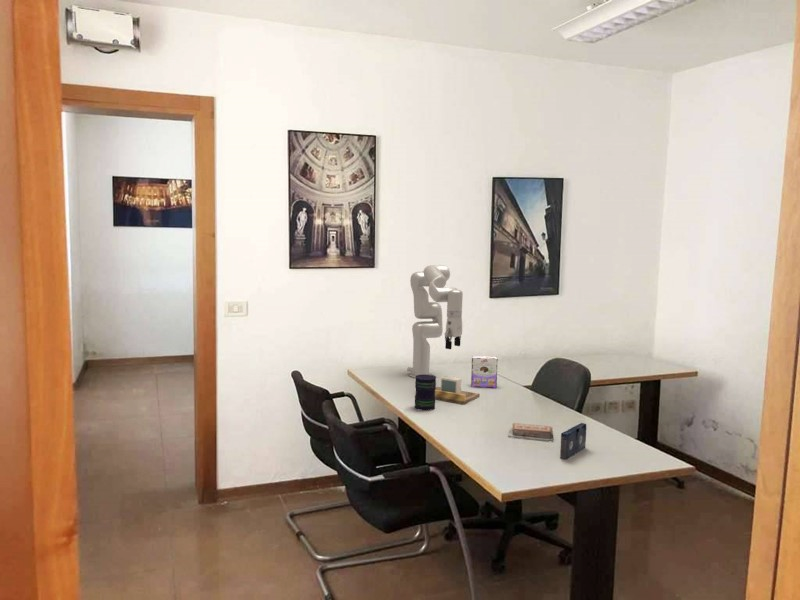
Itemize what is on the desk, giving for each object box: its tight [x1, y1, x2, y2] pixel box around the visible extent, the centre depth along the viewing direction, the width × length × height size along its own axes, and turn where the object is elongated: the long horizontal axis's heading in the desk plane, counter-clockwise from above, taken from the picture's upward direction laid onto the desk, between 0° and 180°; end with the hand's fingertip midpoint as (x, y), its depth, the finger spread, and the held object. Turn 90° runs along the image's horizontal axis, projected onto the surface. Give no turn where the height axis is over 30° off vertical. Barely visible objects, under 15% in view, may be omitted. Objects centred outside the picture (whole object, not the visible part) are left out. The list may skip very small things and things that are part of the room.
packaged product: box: [507, 422, 554, 442], centre depth 270 cm, size 18×5×10 cm
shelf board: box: [435, 386, 481, 405], centre depth 329 cm, size 24×18×4 cm
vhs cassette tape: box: [559, 422, 587, 461], centre depth 250 cm, size 18×3×10 cm, turn 140°
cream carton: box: [440, 375, 462, 394], centre depth 328 cm, size 5×9×8 cm, turn 59°
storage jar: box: [414, 374, 437, 412], centre depth 307 cm, size 10×10×15 cm
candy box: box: [470, 355, 498, 389], centre depth 351 cm, size 14×6×16 cm, turn 84°
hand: (452, 347), depth 330 cm, fingers open, 9 cm apart
